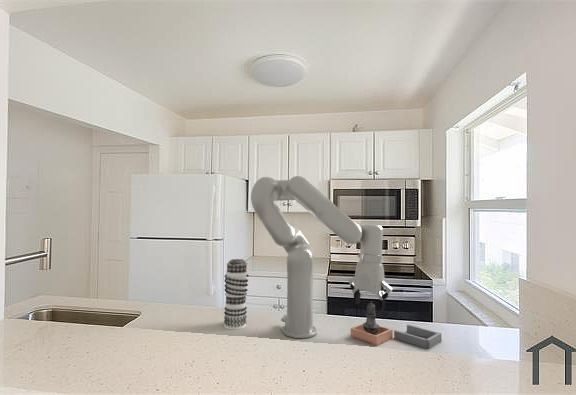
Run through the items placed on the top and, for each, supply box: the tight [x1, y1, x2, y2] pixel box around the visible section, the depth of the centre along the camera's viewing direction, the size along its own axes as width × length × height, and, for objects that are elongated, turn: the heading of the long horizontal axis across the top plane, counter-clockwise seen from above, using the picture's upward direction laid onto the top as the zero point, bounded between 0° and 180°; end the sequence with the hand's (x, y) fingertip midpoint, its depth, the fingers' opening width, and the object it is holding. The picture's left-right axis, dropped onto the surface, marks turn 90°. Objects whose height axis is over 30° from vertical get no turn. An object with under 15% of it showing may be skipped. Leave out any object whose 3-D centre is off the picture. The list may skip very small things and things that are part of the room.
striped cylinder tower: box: [223, 258, 249, 331], centre depth 120 cm, size 9×9×25 cm
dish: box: [350, 323, 394, 347], centre depth 110 cm, size 10×10×3 cm
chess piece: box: [362, 300, 381, 335], centre depth 110 cm, size 6×6×12 cm
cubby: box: [393, 324, 442, 350], centre depth 109 cm, size 12×10×2 cm
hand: (368, 307), depth 110 cm, fingers open, 9 cm apart
